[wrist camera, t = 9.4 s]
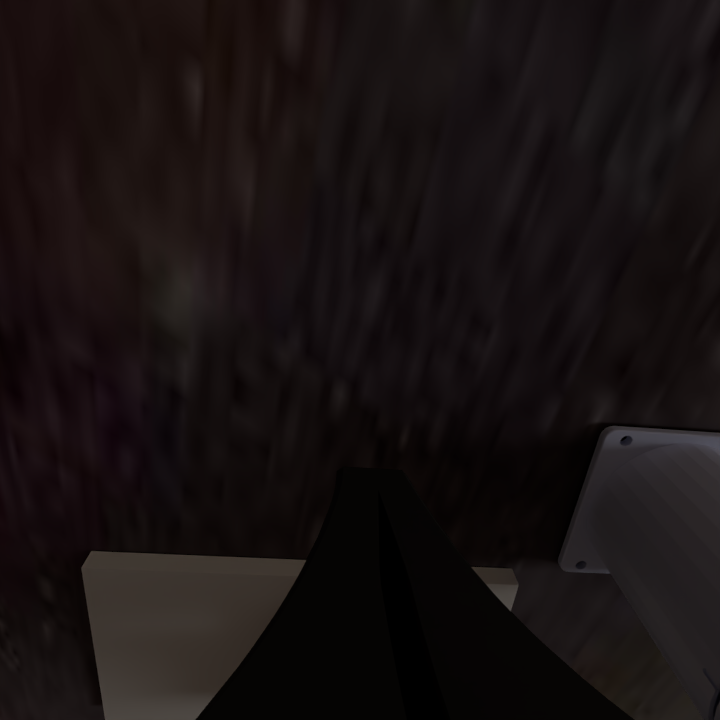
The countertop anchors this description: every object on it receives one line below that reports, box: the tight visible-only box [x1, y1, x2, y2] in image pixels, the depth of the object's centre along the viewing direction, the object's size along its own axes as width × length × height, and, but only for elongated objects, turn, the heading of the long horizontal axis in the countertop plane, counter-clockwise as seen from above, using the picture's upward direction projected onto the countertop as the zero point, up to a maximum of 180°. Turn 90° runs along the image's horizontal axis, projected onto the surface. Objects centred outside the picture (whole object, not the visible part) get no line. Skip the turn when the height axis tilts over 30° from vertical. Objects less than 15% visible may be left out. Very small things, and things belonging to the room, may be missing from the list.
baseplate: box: [81, 551, 519, 720], centre depth 26 cm, size 20×11×1 cm, turn 84°
